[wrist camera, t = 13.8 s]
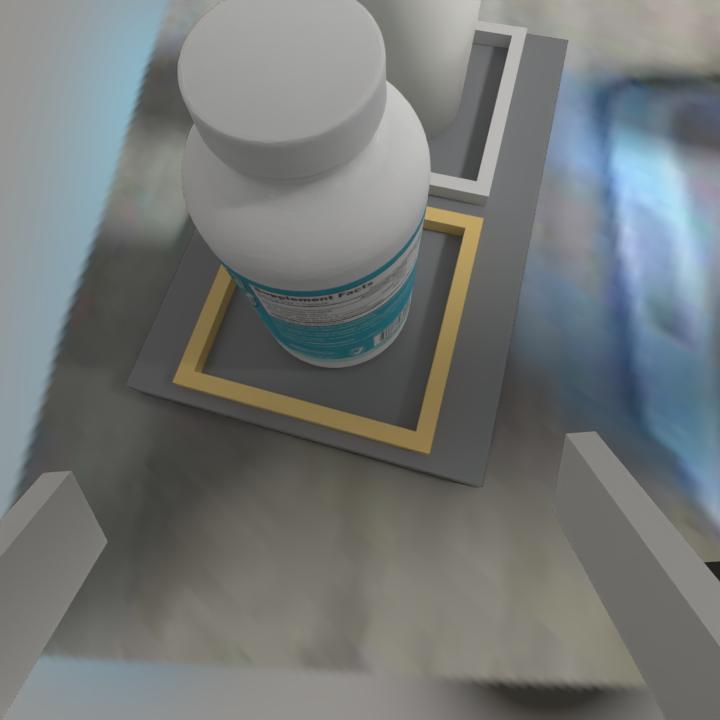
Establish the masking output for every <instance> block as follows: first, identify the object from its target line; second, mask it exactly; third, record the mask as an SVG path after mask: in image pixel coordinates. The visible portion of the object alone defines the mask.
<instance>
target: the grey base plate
mask: <svg viewBox="0 0 720 720" xmlns="http://www.w3.org/2000/svg"><path fill="white" fill-rule="evenodd" d="M526 32H527V28H522V27H516V26H509V25H503V24H496V23H490V22H484V21H477V24H476V29H475V34H474V38H473V43H472V48H471V53H470V58H469V63H468V68H467V72H466V77H465V82H464V87H463V92H462V97H461V101H460V106H459V110H458V113H457V116H456V117H455V119H454V121H453V122H452V123H451V125H450V126H449V127H448V128H447V129H446V130H445V131H444V132H442V133H441V134H440V135H438V136H436V137H434V138H433V139H430V140H428V141H427V143H428V147H429V153H430V165H431V177H430V186H429V192H428V200H427V207H426V213H425V219H424V224H423V230H422V236H421V242H420V248H419V255H418V261H417V267H416V273H415V279H414V284H413V290H412V297H411V303H410V307H409V312H408V316H407V319H406V321H405V324H404V326H403V328H402V330H401V331H400V333H399V335H398V336H397V337H396V339H395V340H394V341H393V342H392V343H391V344H390V345H389V346H388V347H387V348H386V349H385V350H384V351H383V352H381V353H380V354H379V355H377V356H375V357H374V358H372V359H370V360H368V361H365V362H363V363H360V364H357V365H354V366H349V367H341V368H328V367H321V366H316V365H313V364H310V363H307V362H305V361H302V360H300V359H298V358H297V357H295V356H293V355H292V354H291V353H289V352H288V351H287V350H285V349H284V348H283V347H282V346H281V345H280V344H279V342H278V341H277V340H276V338H275V337H274V336H273V335H272V333H271V332H270V331H269V329H268V328H267V326H266V325H265V323H264V322H263V321H262V319H261V318H260V317H259V315H258V314H257V313H256V311H255V310H254V308H253V307H252V306H251V304H250V303H249V302H248V300H247V299H246V297H245V296H244V295H243V293H242V292H241V290H240V289H239V288H238V286H237V285H236V283H235V282H234V281H233V279H232V278H231V276H230V275H229V274H228V272H227V271H226V269H225V268H224V267H223V265H222V264H221V262H220V261H219V260H218V258H217V257H216V255H215V254H214V253H213V251H212V250H211V249H210V247H209V246H208V244H207V243H206V242H205V240H204V239H203V237H202V236H201V234H200V233H199V231H198V230H197V228H195V230H194V232H193V234H192V237H191V239H190V241H189V243H188V246H187V248H186V250H185V252H184V255H183V257H182V259H181V261H180V264H179V266H178V268H177V270H176V273H175V275H174V277H173V279H172V281H171V284H170V286H169V288H168V290H167V293H166V295H165V297H164V299H163V302H162V304H161V306H160V308H159V311H158V313H157V315H156V317H155V320H154V322H153V324H152V326H151V329H150V331H149V333H148V335H147V338H146V340H145V342H144V344H143V347H142V349H141V351H140V353H139V356H138V358H137V360H136V362H135V365H134V367H133V369H132V371H131V373H130V376H129V378H128V380H127V382H126V385H125V386H127V387H129V388H132V389H134V390H137V391H139V392H141V393H145V394H149V395H152V396H156V397H159V398H163V399H166V400H170V401H173V402H177V403H180V404H184V405H187V406H191V407H194V408H198V409H201V410H205V411H209V412H212V413H216V414H219V415H223V416H226V417H230V418H233V419H237V420H240V421H244V422H247V423H251V424H254V425H258V426H261V427H265V428H268V429H272V430H276V431H279V432H283V433H286V434H290V435H293V436H297V437H300V438H304V439H307V440H311V441H314V442H318V443H321V444H325V445H328V446H332V447H336V448H339V449H343V450H346V451H350V452H353V453H357V454H360V455H364V456H367V457H371V458H374V459H378V460H381V461H385V462H388V463H392V464H396V465H399V466H403V467H406V468H410V469H413V470H417V471H420V472H424V473H427V474H431V475H434V476H438V477H441V478H445V479H448V480H452V481H456V482H459V483H463V484H466V485H470V486H473V487H483V482H484V477H485V472H486V467H487V461H488V456H489V451H490V446H491V441H492V435H493V430H494V425H495V420H496V414H497V409H498V404H499V399H500V394H501V388H502V383H503V378H504V373H505V368H506V362H507V357H508V352H509V347H510V341H511V336H512V331H513V326H514V321H515V315H516V310H517V305H518V300H519V295H520V289H521V284H522V279H523V274H524V268H525V263H526V258H527V253H528V248H529V242H530V237H531V232H532V227H533V222H534V216H535V211H536V206H537V201H538V195H539V190H540V185H541V180H542V175H543V169H544V164H545V159H546V154H547V149H548V143H549V138H550V133H551V128H552V123H553V117H554V112H555V107H556V102H557V96H558V91H559V86H560V81H561V76H562V70H563V65H564V60H565V55H566V50H567V44H568V40H564V39H557V38H551V37H545V36H538V35H532V34H526Z"/></svg>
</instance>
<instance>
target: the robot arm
mask: <svg viewBox="0 0 720 720" xmlns="http://www.w3.org/2000/svg"><path fill="white" fill-rule="evenodd" d="M552 510H553V512H554V514H555V516H556V517H557V519H558V521H559V523H560V525H561V527H562V529H563V530H564V532H565V534H566V536H567V538H568V540H569V542H570V543H571V545H572V547H573V549H574V551H575V553H576V555H577V556H578V558H579V560H580V562H581V564H582V566H583V568H584V569H585V571H586V573H587V575H588V577H589V579H590V580H591V582H592V584H593V586H594V588H595V590H596V592H597V593H598V595H599V597H600V599H601V601H602V603H603V605H604V606H605V608H606V610H607V612H608V614H609V616H610V618H611V619H612V621H613V623H614V625H615V627H616V629H617V631H618V632H619V634H620V636H621V638H622V640H623V642H624V643H625V645H626V647H627V649H628V651H629V653H630V655H631V656H632V658H633V660H634V662H635V664H636V666H637V668H638V669H639V671H640V673H641V675H642V677H643V679H644V681H645V682H646V684H647V686H648V688H649V690H650V692H651V694H652V695H653V697H654V699H655V701H656V703H657V705H658V706H659V708H660V710H661V712H662V714H663V716H664V718H665V719H666V720H720V561H719V562H703V561H702V560H701V558H700V557H699V556H698V555H697V554H696V552H695V551H694V550H693V549H692V548H691V546H690V545H689V544H688V543H687V542H686V540H685V539H684V538H683V537H682V535H681V534H680V533H679V532H678V531H677V529H676V528H675V527H674V526H673V525H672V523H671V522H670V521H669V520H668V519H667V517H666V516H665V515H664V514H663V513H662V511H661V510H660V509H659V508H658V506H657V505H656V504H655V503H654V502H653V500H652V499H651V498H650V497H649V496H648V494H647V493H646V492H645V491H644V490H643V488H642V487H641V486H640V485H639V483H638V482H637V481H636V480H635V479H634V477H633V476H632V475H631V474H630V473H629V471H628V470H627V469H626V468H625V467H624V465H623V464H622V463H621V462H620V461H619V459H618V458H617V457H616V456H615V454H614V453H613V452H612V451H611V450H610V448H609V447H608V446H607V445H606V444H605V442H604V441H603V440H602V439H601V438H600V436H599V435H598V434H597V433H596V431H593V432H580V433H566V436H565V441H564V447H563V452H562V458H561V463H560V469H559V475H558V480H557V486H556V491H555V497H554V502H553V508H552ZM107 542H108V541H107V539H106V537H105V535H104V533H103V531H102V529H101V527H100V525H99V523H98V522H97V520H96V518H95V516H94V514H93V512H92V510H91V508H90V506H89V504H88V502H87V500H86V498H85V496H84V494H83V492H82V490H81V488H80V486H79V484H78V482H77V480H76V478H75V476H74V475H73V473H72V471H61V472H48V473H43V474H42V475H41V476H40V477H39V478H38V479H37V480H36V481H35V483H34V484H33V485H32V486H31V487H30V488H29V489H28V490H27V491H26V493H25V494H24V495H23V496H22V497H21V498H20V499H19V500H18V501H17V502H16V504H15V505H14V506H13V507H12V508H11V509H10V510H9V511H8V512H7V514H6V515H5V516H4V517H3V518H2V519H1V520H0V720H2V719H3V716H4V715H5V714H6V712H7V710H8V708H9V707H10V705H11V704H12V702H13V700H14V698H15V697H16V695H17V693H18V691H19V690H20V688H21V687H22V685H23V683H24V681H25V680H26V678H27V677H28V675H29V673H30V671H31V670H32V668H33V666H34V665H35V663H36V661H37V660H38V658H39V656H40V655H41V653H42V651H43V650H44V648H45V646H46V645H47V643H48V641H49V640H50V638H51V636H52V635H53V633H54V631H55V629H56V628H57V626H58V624H59V623H60V621H61V619H62V618H63V616H64V614H65V613H66V611H67V609H68V608H69V606H70V604H71V603H72V601H73V599H74V598H75V596H76V594H77V592H78V591H79V589H80V587H81V586H82V584H83V582H84V581H85V579H86V577H87V576H88V574H89V572H90V571H91V569H92V567H93V566H94V564H95V562H96V560H97V559H98V557H99V555H100V554H101V552H102V550H103V549H104V547H105V545H106V544H107Z"/></svg>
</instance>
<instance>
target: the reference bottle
mask: <svg viewBox="0 0 720 720" xmlns="http://www.w3.org/2000/svg"><path fill="white" fill-rule="evenodd" d="M356 1H357V2H359V3H360V4H361V5H363V6H364V7H365V8H366V10H367V11H368V12H369V13H370V14H371V15H372V17H373V18H374V20H375V22H376V23H377V25H378V27H379V29H380V31H381V34H382V37H383V41H384V45H385V52H386V81H388V82H389V83H390V84H392V85H393V86H394V87H395V88H396V89H397V90H398V91H399V92H400V93H401V94H402V95H403V96H404V98H405V99H406V100H407V101H408V102H409V104H410V105H411V106H412V108H413V110H414V111H415V113H416V114H417V116H418V118H419V120H420V122H421V124H422V127H423V129H424V132H425V135H426V139H427V141H428V140H430V139H433V138H434V137H436V136H438V135H440V134H441V133H442V132H444V131H445V130H446V129H447V128H448V127H449V126H450V125H451V123H452V122H453V121H454V119H455V117H456V116H457V113H458V110H459V106H460V101H461V97H462V92H463V87H464V82H465V77H466V72H467V68H468V63H469V58H470V53H471V48H472V43H473V38H474V34H475V29H476V24H477V19H478V14H479V9H480V4H481V0H356Z"/></svg>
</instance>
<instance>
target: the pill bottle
mask: <svg viewBox="0 0 720 720" xmlns="http://www.w3.org/2000/svg"><path fill="white" fill-rule="evenodd" d="M177 75H178V83H179V88H180V92H181V95H182V98H183V100H184V103H185V105H186V107H187V109H188V111H189V113H190V115H191V117H192V119H193V122H194V124H193V126H192V128H191V130H190V132H189V135H188V138H187V141H186V145H185V149H184V153H183V160H182V187H183V195H184V199H185V202H186V206H187V209H188V211H189V214H190V216H191V218H192V221H193V223H194V225H195V226H196V228H197V230H198V231H199V233H200V234H201V236H202V237H203V239H204V240H205V242H206V243H207V244H208V246H209V247H210V249H211V250H212V251H213V253H214V254H215V255H216V257H217V258H218V260H219V261H220V262H221V264H222V265H223V267H224V268H225V269H226V271H227V272H228V274H229V275H230V276H231V278H232V279H233V281H234V282H235V283H236V285H237V286H238V288H239V289H240V290H241V292H242V293H243V295H244V296H245V297H246V299H247V300H248V302H249V303H250V304H251V306H252V307H253V308H254V310H255V311H256V313H257V314H258V315H259V317H260V318H261V319H262V321H263V322H264V323H265V325H266V326H267V328H268V329H269V331H270V332H271V333H272V335H273V336H274V337H275V338H276V340H277V341H278V342H279V344H280V345H281V346H282V347H283V348H284V349H285V350H287V351H288V352H289V353H291V354H292V355H293V356H295V357H297V358H298V359H300V360H302V361H305V362H307V363H310V364H313V365H316V366H321V367H328V368H341V367H349V366H354V365H357V364H360V363H363V362H365V361H368V360H370V359H372V358H374V357H375V356H377V355H379V354H380V353H381V352H383V351H384V350H385V349H386V348H387V347H388V346H389V345H390V344H391V343H392V342H393V341H394V340H395V339H396V337H397V336H398V335H399V333H400V331H401V330H402V328H403V326H404V324H405V321H406V319H407V316H408V312H409V307H410V303H411V297H412V290H413V284H414V279H415V273H416V267H417V261H418V255H419V248H420V242H421V236H422V230H423V224H424V219H425V213H426V207H427V200H428V192H429V186H430V177H431V165H430V153H429V147H428V143H427V139H426V135H425V132H424V129H423V127H422V124H421V122H420V120H419V118H418V116H417V114H416V113H415V111H414V110H413V108H412V106H411V105H410V104H409V102H408V101H407V100H406V99H405V98H404V96H403V95H402V94H401V93H400V92H399V91H398V90H397V89H396V88H395V87H394V86H393V85H392V84H390V83H389V82H388V81H386V52H385V45H384V41H383V37H382V34H381V31H380V29H379V27H378V25H377V23H376V22H375V20H374V18H373V17H372V15H371V14H370V13H369V12H368V11H367V10H366V8H365V7H364V6H363V5H361V4H360V3H359V2H357V1H356V0H224V1H222V2H221V3H219V4H217V5H216V6H215V7H214V8H213V9H211V10H210V11H209V12H207V13H206V14H205V15H204V16H203V17H202V18H201V19H200V20H199V21H198V22H197V23H196V25H195V26H194V27H193V29H192V30H191V32H190V33H189V34H188V36H187V38H186V40H185V42H184V44H183V46H182V49H181V52H180V57H179V61H178V72H177Z"/></svg>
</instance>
